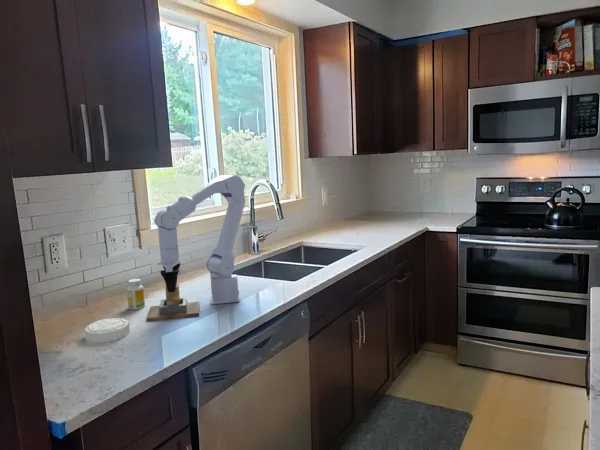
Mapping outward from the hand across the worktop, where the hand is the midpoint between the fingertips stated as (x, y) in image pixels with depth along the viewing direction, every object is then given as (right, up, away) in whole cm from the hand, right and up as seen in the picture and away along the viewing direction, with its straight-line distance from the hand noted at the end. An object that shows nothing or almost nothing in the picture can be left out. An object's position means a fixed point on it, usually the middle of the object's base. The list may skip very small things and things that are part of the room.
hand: (172, 288), depth 151 cm
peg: (0, -7, +1) cm, 7 cm away
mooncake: (-14, -12, -16) cm, 24 cm away
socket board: (0, -8, +1) cm, 8 cm away
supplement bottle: (-14, -8, +8) cm, 18 cm away
